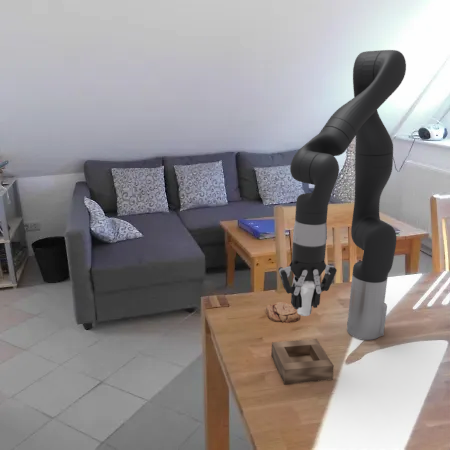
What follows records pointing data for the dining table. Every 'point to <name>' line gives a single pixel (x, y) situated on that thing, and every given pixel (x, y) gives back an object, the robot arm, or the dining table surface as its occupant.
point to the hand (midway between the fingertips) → (304, 306)
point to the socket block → (301, 361)
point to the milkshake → (306, 298)
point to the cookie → (282, 312)
